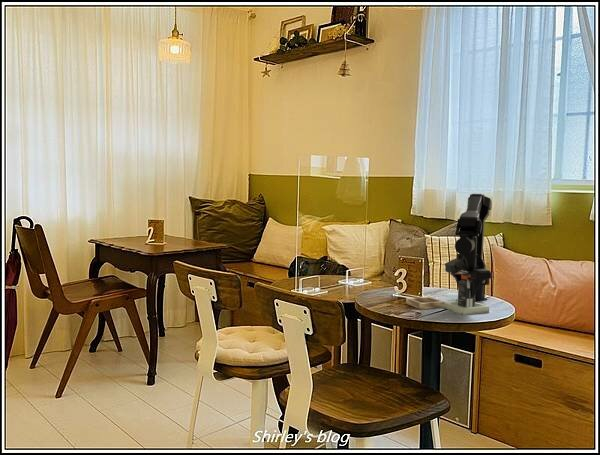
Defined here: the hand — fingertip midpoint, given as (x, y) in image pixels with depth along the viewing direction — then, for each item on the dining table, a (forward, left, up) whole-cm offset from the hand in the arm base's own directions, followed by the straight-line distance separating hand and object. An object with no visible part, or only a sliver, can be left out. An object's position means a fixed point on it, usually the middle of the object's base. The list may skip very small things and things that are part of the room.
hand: (466, 295), depth 206 cm
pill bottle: (0, 0, -4) cm, 4 cm away
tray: (0, 0, -5) cm, 5 cm away
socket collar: (+10, -11, -5) cm, 16 cm away
